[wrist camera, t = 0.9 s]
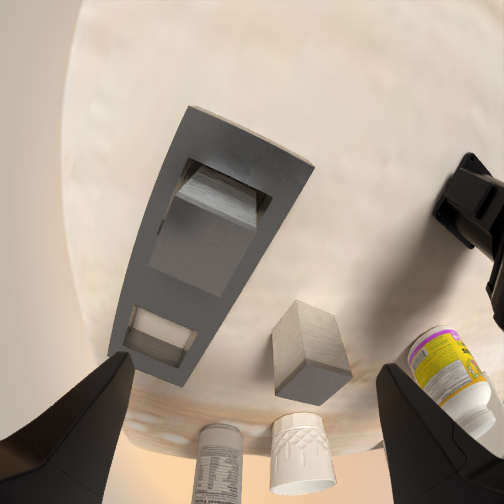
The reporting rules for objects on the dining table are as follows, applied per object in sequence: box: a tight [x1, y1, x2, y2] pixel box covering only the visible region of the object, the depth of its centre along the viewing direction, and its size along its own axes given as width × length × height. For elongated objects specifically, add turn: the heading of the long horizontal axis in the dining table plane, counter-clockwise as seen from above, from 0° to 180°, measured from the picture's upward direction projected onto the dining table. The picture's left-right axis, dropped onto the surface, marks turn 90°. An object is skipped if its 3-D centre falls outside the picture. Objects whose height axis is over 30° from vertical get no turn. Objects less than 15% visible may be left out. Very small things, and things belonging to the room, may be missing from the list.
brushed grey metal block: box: [272, 300, 353, 406], centre depth 21 cm, size 4×4×7 cm
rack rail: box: [107, 106, 315, 387], centre depth 21 cm, size 8×23×2 cm, turn 153°
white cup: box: [270, 412, 337, 495], centre depth 29 cm, size 8×8×10 cm
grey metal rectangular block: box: [148, 166, 256, 297], centre depth 16 cm, size 4×4×7 cm
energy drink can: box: [191, 424, 243, 504], centre depth 28 cm, size 6×6×15 cm
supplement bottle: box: [408, 326, 496, 440], centre depth 21 cm, size 7×7×13 cm
